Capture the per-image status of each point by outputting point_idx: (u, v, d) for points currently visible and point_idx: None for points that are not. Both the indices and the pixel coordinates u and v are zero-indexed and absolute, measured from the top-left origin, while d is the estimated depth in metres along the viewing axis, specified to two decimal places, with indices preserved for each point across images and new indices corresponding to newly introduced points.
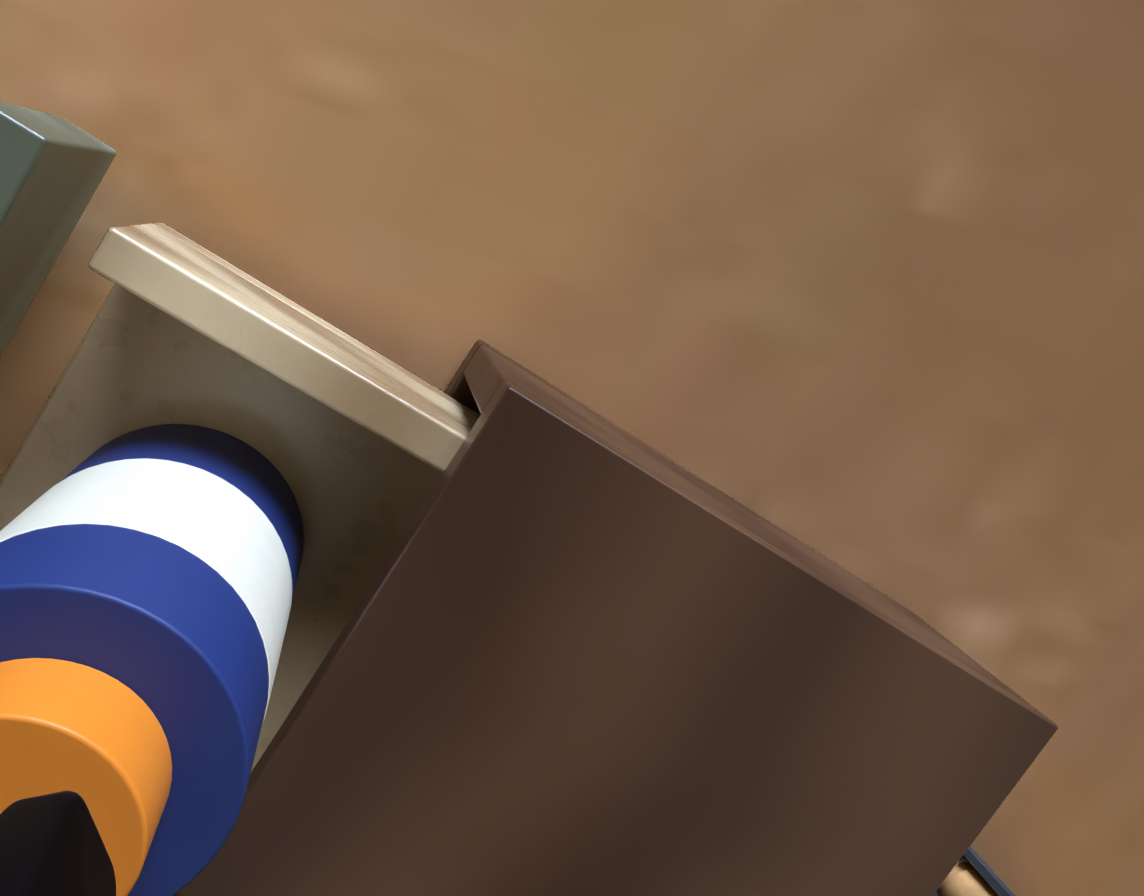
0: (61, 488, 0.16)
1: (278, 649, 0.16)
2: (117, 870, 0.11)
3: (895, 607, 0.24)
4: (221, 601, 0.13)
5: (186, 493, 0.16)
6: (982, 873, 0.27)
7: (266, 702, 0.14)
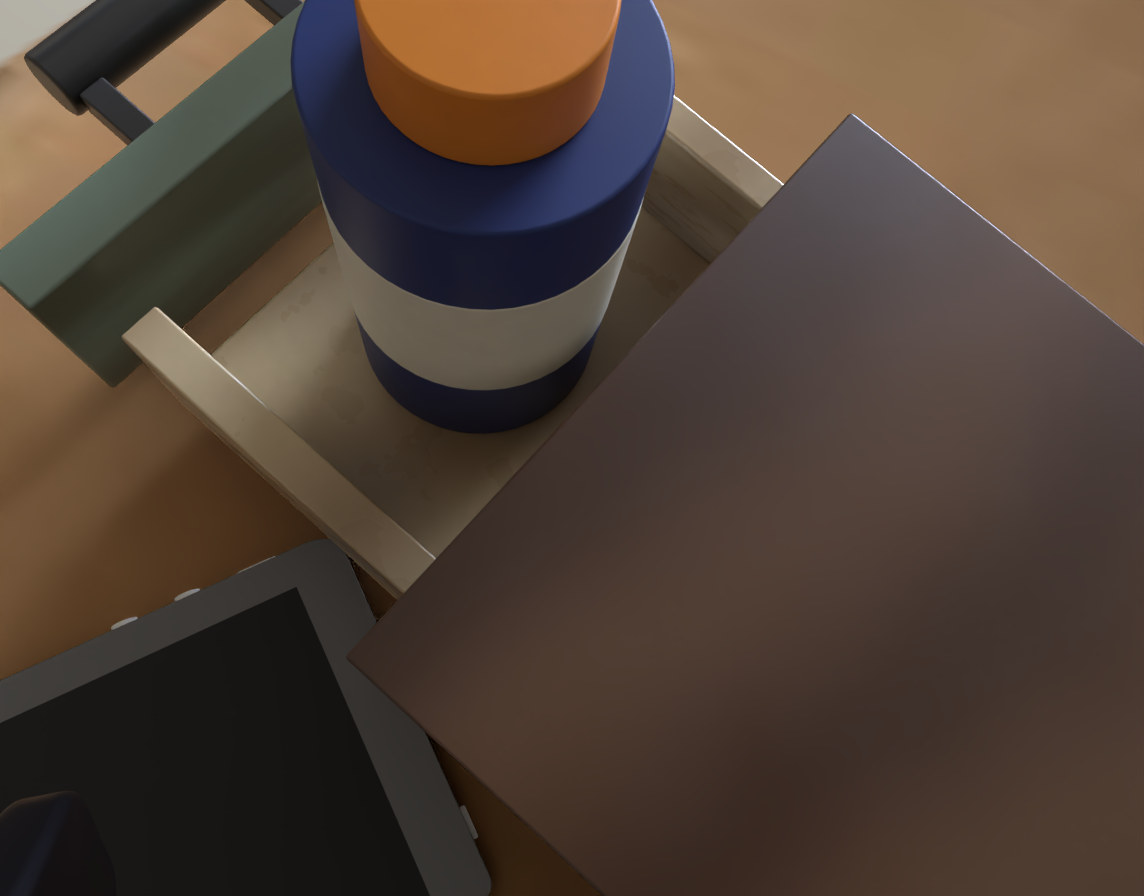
0: None
1: None
2: (586, 33, 0.11)
3: None
4: None
5: None
6: None
7: (641, 203, 0.14)
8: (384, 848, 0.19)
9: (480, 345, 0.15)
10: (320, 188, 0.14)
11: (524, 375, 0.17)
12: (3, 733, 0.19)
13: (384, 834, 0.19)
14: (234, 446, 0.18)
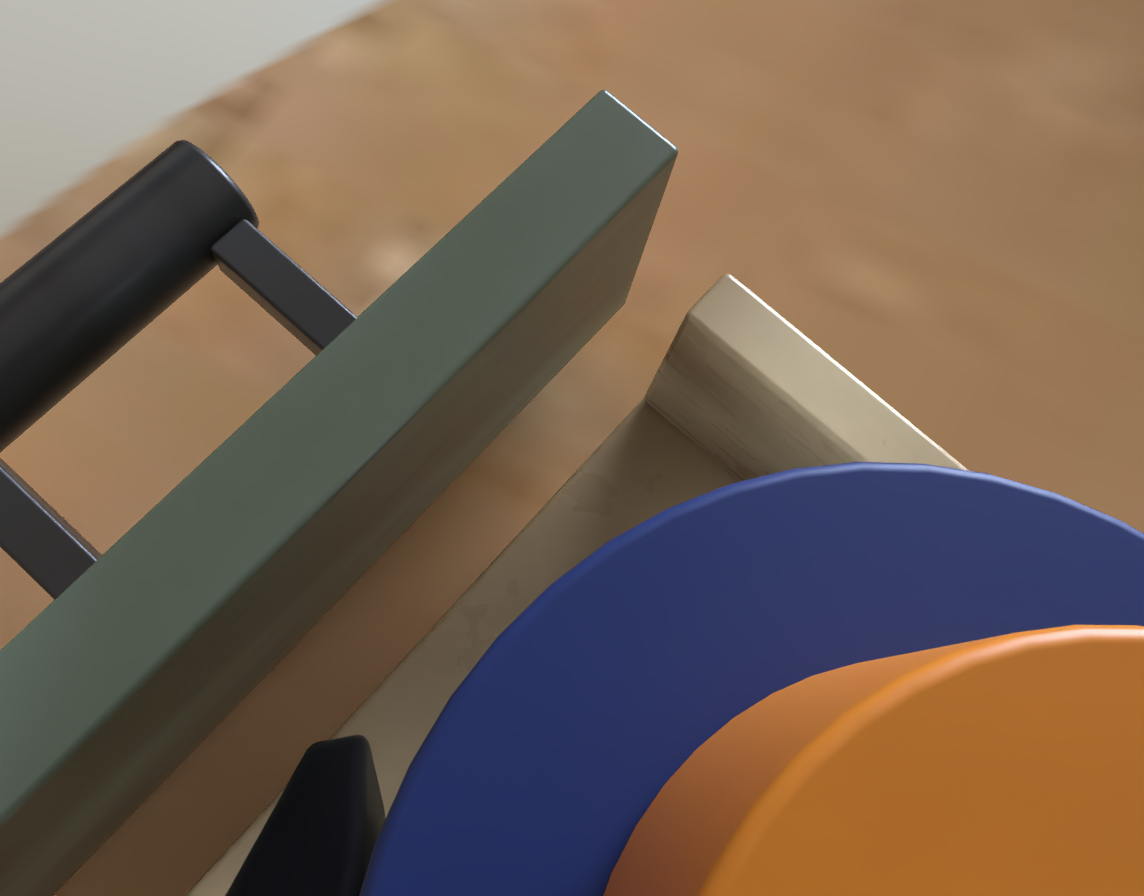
0: None
1: None
2: None
3: None
4: None
5: None
6: None
7: None
8: None
9: None
10: None
11: None
12: None
13: None
14: None
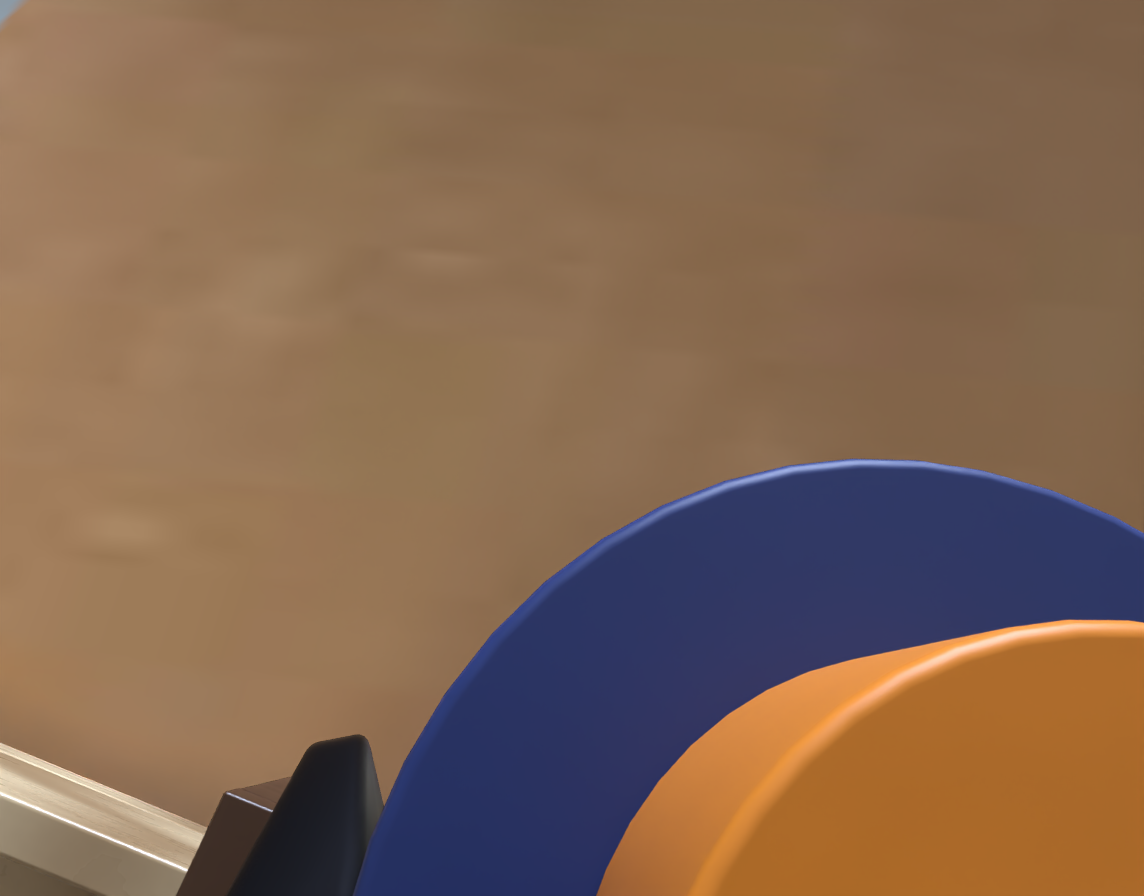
0: None
1: None
2: None
3: None
4: None
5: None
6: None
7: None
8: None
9: None
10: None
11: None
12: None
13: None
14: None
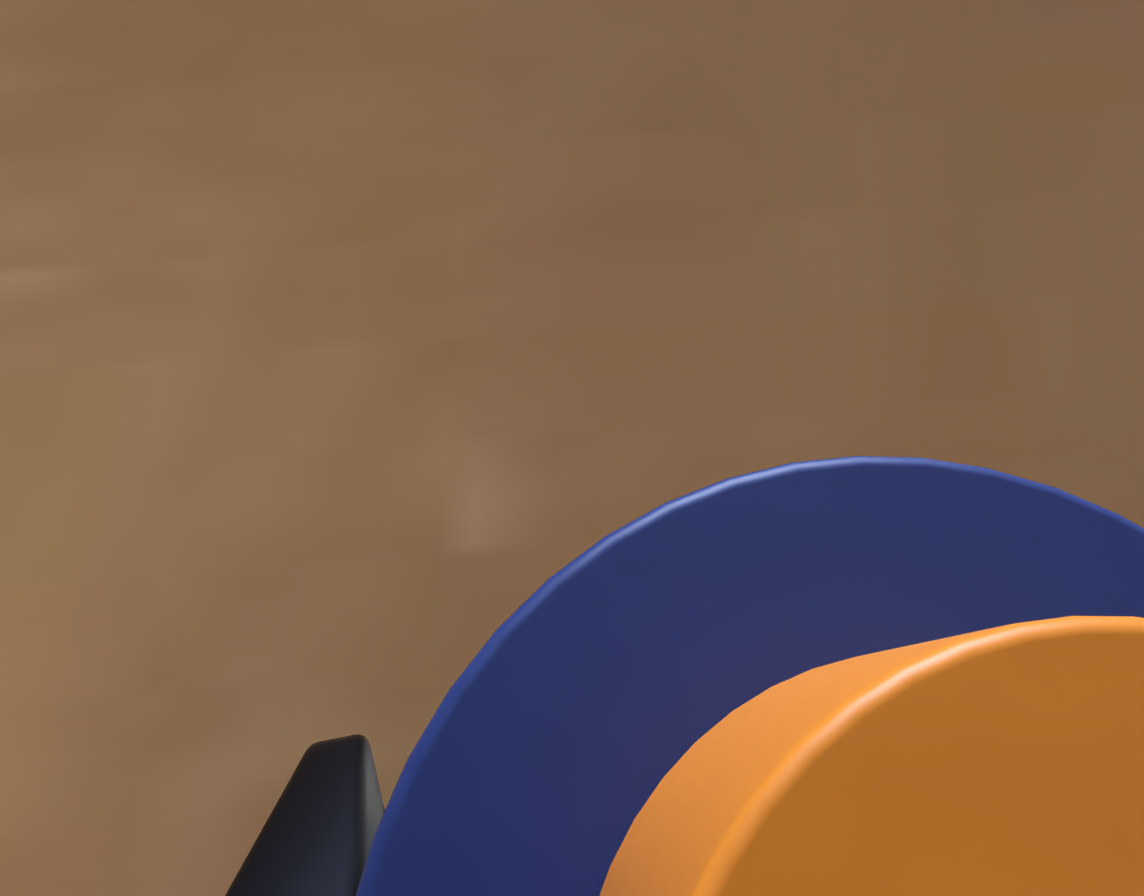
0: None
1: None
2: None
3: None
4: None
5: None
6: None
7: None
8: None
9: None
10: None
11: None
12: None
13: None
14: None
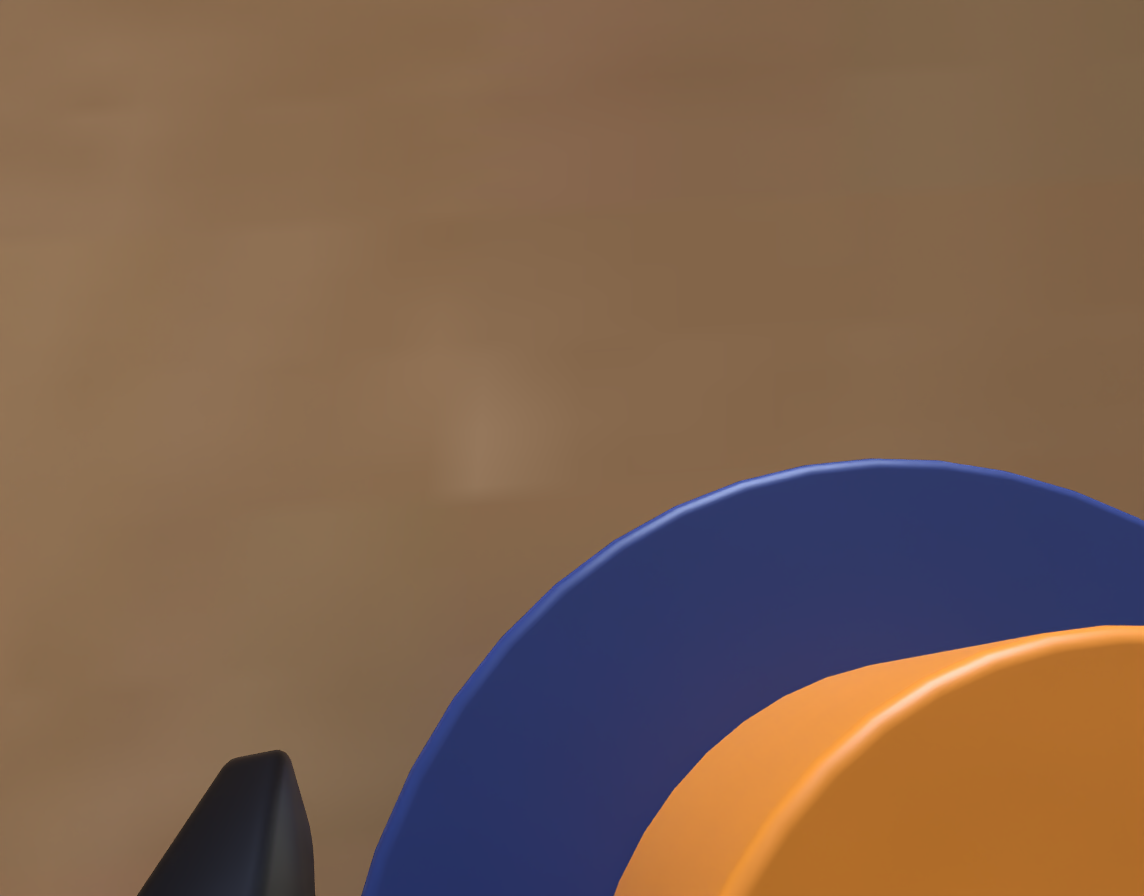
0: None
1: None
2: None
3: None
4: None
5: None
6: None
7: None
8: None
9: None
10: None
11: None
12: None
13: None
14: None
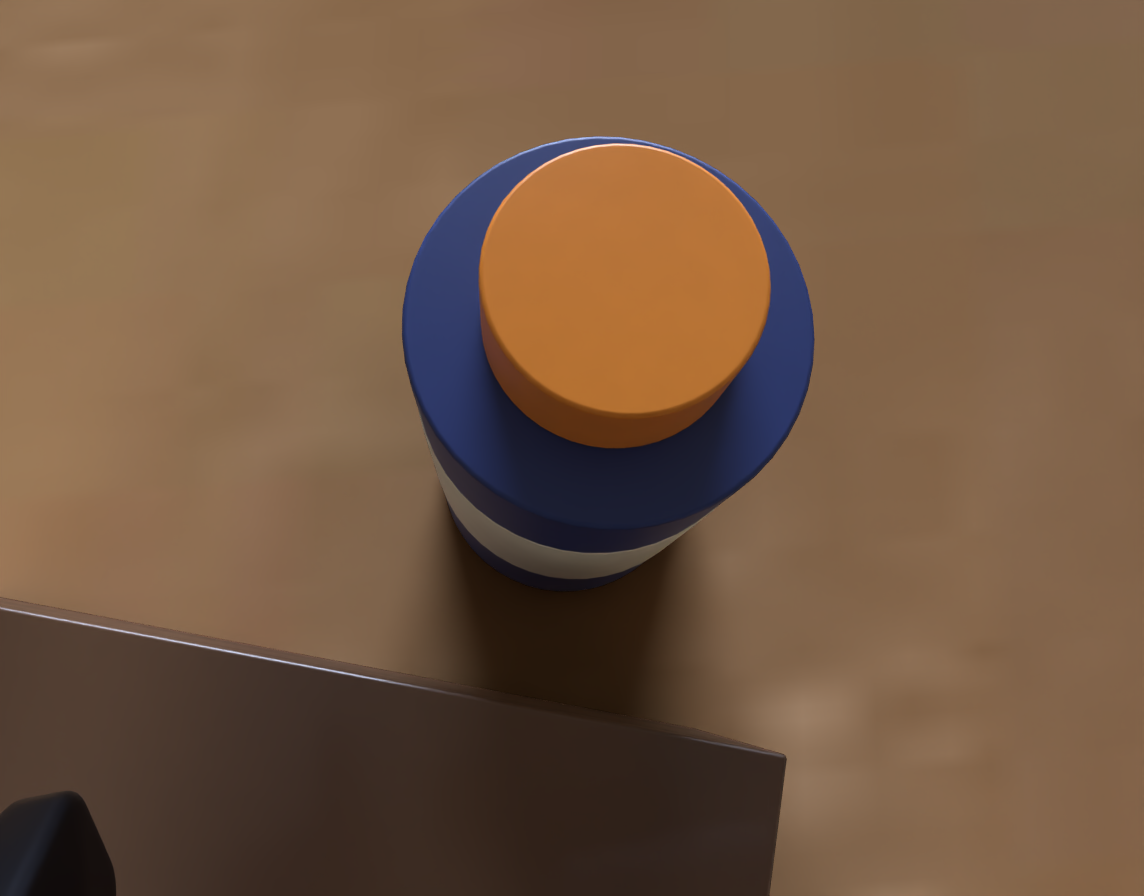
0: None
1: None
2: (736, 334, 0.10)
3: (608, 714, 0.17)
4: None
5: None
6: None
7: None
8: None
9: (588, 564, 0.14)
10: (426, 431, 0.13)
11: (626, 567, 0.16)
12: None
13: None
14: None
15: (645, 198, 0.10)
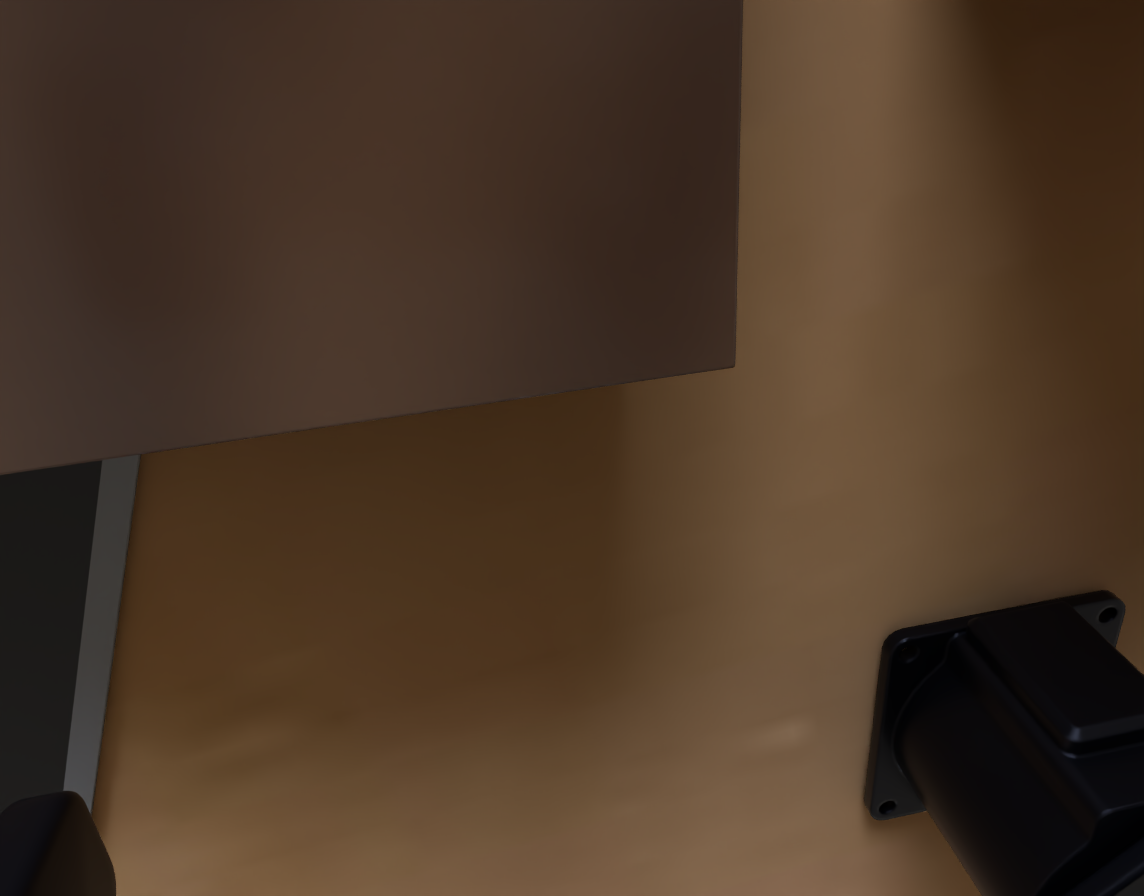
0: None
1: None
2: None
3: None
4: None
5: None
6: None
7: None
8: None
9: None
10: None
11: None
12: None
13: None
14: None
15: None
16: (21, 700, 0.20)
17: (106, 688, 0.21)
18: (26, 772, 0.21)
